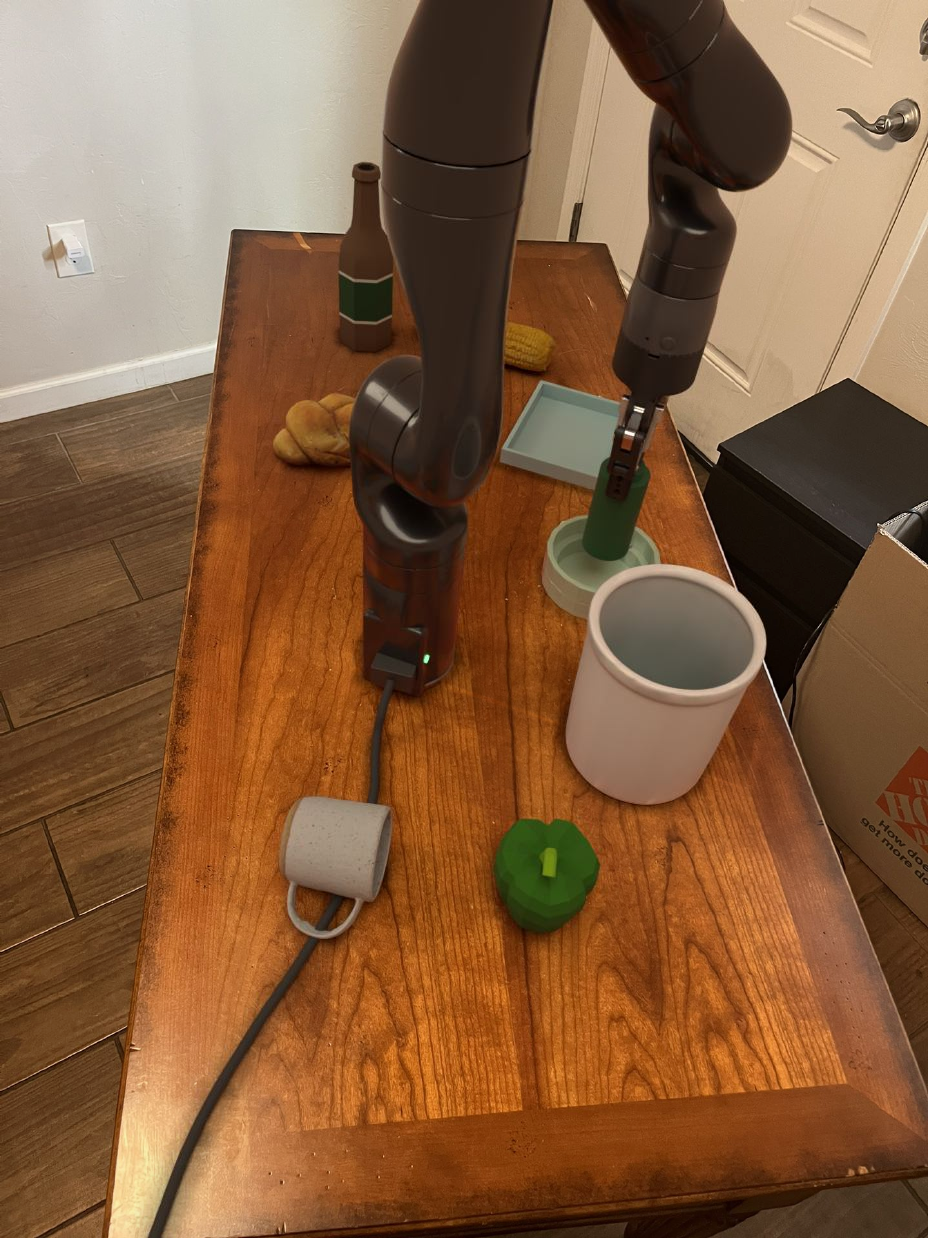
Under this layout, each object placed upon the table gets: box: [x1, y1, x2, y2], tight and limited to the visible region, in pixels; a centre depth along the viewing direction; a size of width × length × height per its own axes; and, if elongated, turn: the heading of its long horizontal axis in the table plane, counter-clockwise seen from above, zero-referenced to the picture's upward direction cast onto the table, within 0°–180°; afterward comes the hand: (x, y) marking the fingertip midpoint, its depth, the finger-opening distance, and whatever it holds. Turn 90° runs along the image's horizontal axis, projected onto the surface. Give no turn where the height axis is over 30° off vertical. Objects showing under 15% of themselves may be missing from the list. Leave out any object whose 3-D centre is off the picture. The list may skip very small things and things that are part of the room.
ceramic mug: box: [278, 795, 393, 940], centre depth 76 cm, size 11×8×8 cm
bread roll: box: [272, 392, 355, 467], centre depth 113 cm, size 13×10×8 cm
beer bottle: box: [338, 161, 394, 353], centre depth 125 cm, size 8×8×24 cm
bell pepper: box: [492, 818, 601, 935], centre depth 76 cm, size 8×8×10 cm
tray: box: [499, 379, 625, 491], centre depth 120 cm, size 16×13×3 cm
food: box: [411, 315, 557, 372], centre depth 131 cm, size 21×6×6 cm, turn 68°
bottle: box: [582, 452, 651, 561], centre depth 95 cm, size 5×5×14 cm
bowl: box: [541, 514, 662, 621], centre depth 103 cm, size 12×12×5 cm
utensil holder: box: [565, 563, 767, 806], centre depth 85 cm, size 15×15×18 cm
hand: (623, 479), depth 93 cm, fingers closed on bottle, 5 cm apart
